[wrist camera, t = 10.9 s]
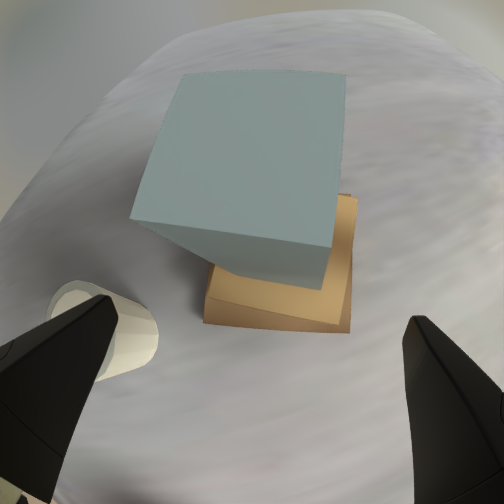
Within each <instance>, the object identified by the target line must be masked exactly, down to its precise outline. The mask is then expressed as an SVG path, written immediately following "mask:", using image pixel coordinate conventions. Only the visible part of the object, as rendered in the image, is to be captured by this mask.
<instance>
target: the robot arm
mask: <svg viewBox="0 0 504 504" xmlns="http://www.w3.org/2000/svg"><path fill="white" fill-rule="evenodd" d="M117 323H118V313H117V310H116V308H115V305H114V303H113V300H112V298H111V297H110V296H109V295H104V294H98V295H96V296H94V297H92V298H90V299H88V300H86V301H84V302H82V303H80V304H79V305H77V306H75V307H73V308H71V309H69V310H67V311H65V312H63V313H61V314H60V315H58V316H56V317H54V318H52V319H50V320H48V321H47V322H45V323H43V324H41V325H39V326H37V327H35V328H34V329H32V330H30V331H28V332H26V333H24V334H23V335H21V336H19V337H17V338H16V339H14V340H12V341H10V342H8V343H6V344H5V345H3V346H1V347H0V504H28V501H27V498H26V497H25V496H24V495H23V494H22V491H24V492H26V493H28V494H30V495H32V496H33V497H35V498H37V499H39V500H41V501H43V502H45V503H47V504H50V502H51V499H52V496H53V493H54V489H55V486H56V483H57V480H58V476H59V473H60V470H61V467H62V464H63V461H64V458H65V455H66V452H67V449H68V446H69V444H70V441H71V438H72V436H73V433H74V430H75V428H76V425H77V422H78V420H79V417H80V415H81V412H82V410H83V407H84V405H85V403H86V400H87V398H88V395H89V393H90V391H91V388H92V386H93V384H94V382H95V379H96V377H97V375H98V373H99V370H100V368H101V366H102V364H103V361H104V359H105V356H106V354H107V351H108V348H109V345H110V342H111V339H112V337H113V334H114V331H115V329H116V326H117ZM402 346H403V359H404V374H405V391H406V399H407V406H408V414H409V422H410V431H411V441H412V453H413V469H414V504H504V392H502V390H501V389H500V388H499V387H498V386H497V385H496V383H495V382H494V381H493V380H492V379H491V378H490V377H489V376H488V375H487V374H486V373H485V372H484V371H483V370H482V369H481V368H480V367H479V366H478V365H477V364H476V363H475V362H474V361H473V360H472V359H471V358H470V357H469V356H468V355H467V354H466V353H465V352H464V351H463V350H462V349H461V348H460V347H458V346H457V345H456V344H455V343H454V342H453V341H452V340H451V339H450V338H449V337H448V336H447V335H446V334H445V333H444V332H443V331H441V330H440V329H439V328H438V327H437V326H436V325H435V324H434V323H433V322H432V321H431V320H429V319H428V318H427V317H426V316H424V315H416V316H412V317H411V318H410V320H409V322H408V325H407V328H406V331H405V333H404V336H403V341H402Z"/></svg>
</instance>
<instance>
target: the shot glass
mask: <svg viewBox="0 0 504 504" xmlns="http://www.w3.org/2000/svg"><path fill="white" fill-rule="evenodd" d="M98 294H104V295H109V296H110V297H111V298H112V300H113V303H114V305H115V308H116V310H117V313H118V323H117V326H116V329H115V331H114V334H113V337H112V339H111V342H110V345H109V348H108V351H107V354H106V356H105V359H104V361H103V364H102V366H101V368H100V370H99V373H98V375H97V377H96V379H95V382H97V381H100V380H103V379H106V378H109V377H112V376H115V375H118V374H121V373H124V372H127V371H130V370H133V369H136V368H138V367H141V366H143V365H144V364H146V363H147V362H148V361H150V360H151V359H152V357H153V355H154V353H155V351H156V350H157V346H158V337H159V334H158V329H157V325H156V321H155V319H154V318H153V316H152V315H151V313H150V312H149V310H147V309H146V308H145V307H143V306H142V305H140V304H139V303H136V302H134V301H131V300H129V299H127V298H124V297H122V296H120V295H117V294H115V293H113V292H110V291H108V290H106V289H104V288H101V287H99V286H97V285H95V284H93V283H90V282H86V281H81V280H74V281H71V282H69V283H66V284H64V285H62V287H61V288H60V289H59V290H58V291H57V292H56V293H55V294H54V295H53V297H52V299H51V302H50V304H49V307H48V309H47V312H46V319H45V322H47V321H48V320H50V319H52V318H54V317H56V316H58V315H60V314H61V313H63V312H65V311H67V310H69V309H71V308H73V307H75V306H77V305H79V304H80V303H82V302H84V301H86V300H88V299H90V298H92V297H94V296H96V295H98Z"/></svg>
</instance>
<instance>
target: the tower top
mask: <svg viewBox="0 0 504 504" xmlns="http://www.w3.org/2000/svg"><path fill="white" fill-rule="evenodd" d="M357 205H358V198H353V197H348V196H343V195H338V201H337V209H336V218H335V226H334V233H333V240H332V247H331V252H330V256H329V260H328V264H327V268H326V272H325V276H324V280H323V284H322V288H321V290H315V289H309V288H303V287H297V286H292V285H286V284H280V283H274V282H269V281H263V280H258V279H252V278H247V277H241V276H237V275H235V274H233V273H231V272H229V271H227V270H225V269H223V268H221V267H219V266H217V265H215V268H214V272H213V276H212V280H211V284H210V288H209V292H208V296H207V297H210V298H212V299H215V300H218V301H222V302H226V303H230V304H235V305H239V306H243V307H248V308H252V309H256V310H261V311H265V312H270V313H275V314H279V315H284V316H289V317H294V318H299V319H304V320H309V321H314V322H319V323H324V324H330V325H339V321H340V316H341V311H342V306H343V301H344V295H345V290H346V284H347V278H348V272H349V266H350V260H351V253H352V246H353V239H354V231H355V223H356V214H357Z"/></svg>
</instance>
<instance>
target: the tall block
mask: <svg viewBox="0 0 504 504" xmlns="http://www.w3.org/2000/svg"><path fill="white" fill-rule="evenodd" d="M345 89H346V75H343V74H334V73H324V72H312V71H294V70H235V71H218V72H205V73H195V74H186V75H184V76H183V78H182V80H181V82H180V84H179V86H178V88H177V90H176V93H175V95H174V97H173V99H172V102H171V104H170V106H169V108H168V111H167V113H166V115H165V118H164V120H163V123H162V125H161V128H160V130H159V133H158V135H157V138H156V140H155V143H154V146H153V148H152V151H151V154H150V156H149V159H148V162H147V165H146V168H145V170H144V173H143V176H142V179H141V182H140V185H139V188H138V192H137V195H136V198H135V201H134V204H133V208H132V211H131V215H130V218H129V219H130V220H132V221H134V222H136V223H138V224H139V225H141V226H143V227H145V228H147V229H149V230H151V231H152V232H154V233H156V234H158V235H160V236H162V237H164V238H166V239H167V240H169V241H171V242H173V243H175V244H177V245H179V246H181V247H183V248H185V249H186V250H188V251H190V252H192V253H194V254H196V255H198V256H200V257H202V258H204V259H206V260H208V261H210V262H211V263H213V264H215V265H217V266H219V267H221V268H223V269H225V270H227V271H229V272H231V273H233V274H235V275H237V276H241V277H247V278H252V279H258V280H263V281H269V282H274V283H280V284H286V285H292V286H297V287H303V288H309V289H315V290H321V288H322V284H323V280H324V276H325V272H326V268H327V264H328V260H329V256H330V252H331V247H332V240H333V233H334V226H335V218H336V209H337V201H338V192H339V182H340V171H341V160H342V147H343V133H344V115H345Z"/></svg>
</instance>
